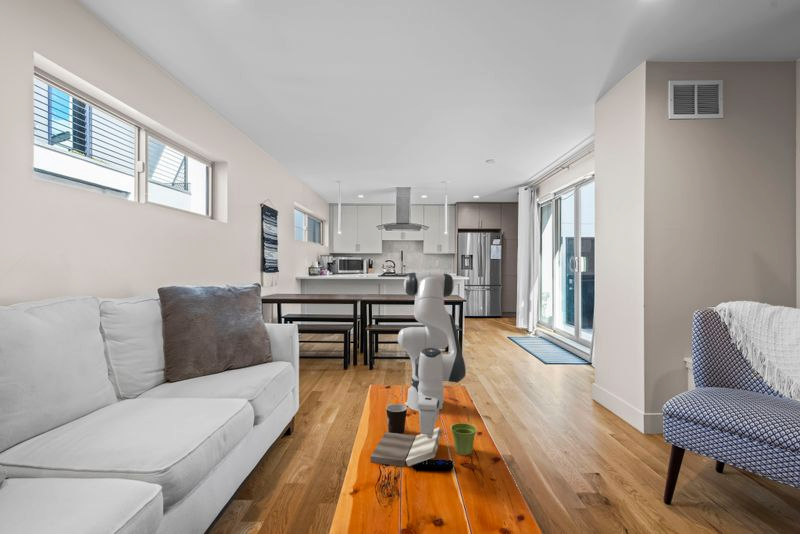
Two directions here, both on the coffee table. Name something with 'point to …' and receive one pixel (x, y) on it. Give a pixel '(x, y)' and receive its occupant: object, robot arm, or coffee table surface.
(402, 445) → the grey brown flat block
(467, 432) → the plant pot
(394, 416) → the coffee mug
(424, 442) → the ash plank
